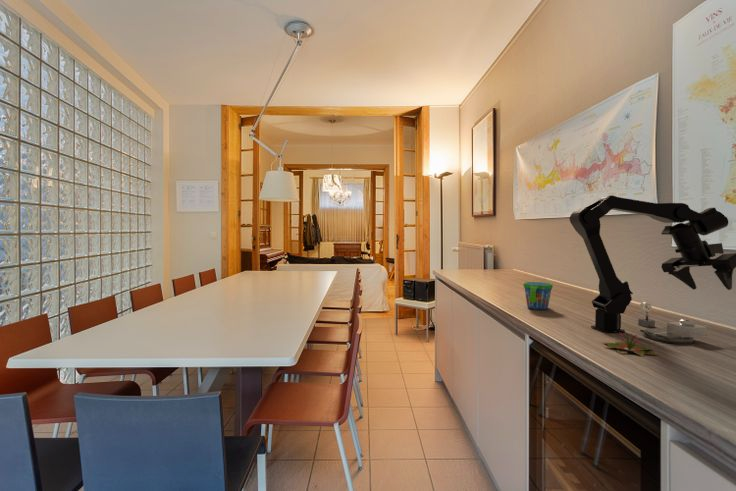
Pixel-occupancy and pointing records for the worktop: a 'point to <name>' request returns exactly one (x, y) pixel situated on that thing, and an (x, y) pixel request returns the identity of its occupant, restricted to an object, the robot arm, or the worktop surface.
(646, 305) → the dial gauge
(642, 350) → the lily flower
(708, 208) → the robot arm
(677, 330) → the cover
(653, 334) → the turntable
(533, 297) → the snack cup
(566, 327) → the worktop surface
